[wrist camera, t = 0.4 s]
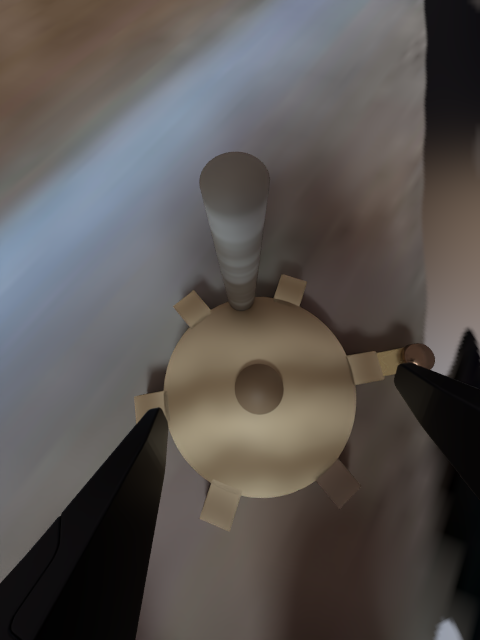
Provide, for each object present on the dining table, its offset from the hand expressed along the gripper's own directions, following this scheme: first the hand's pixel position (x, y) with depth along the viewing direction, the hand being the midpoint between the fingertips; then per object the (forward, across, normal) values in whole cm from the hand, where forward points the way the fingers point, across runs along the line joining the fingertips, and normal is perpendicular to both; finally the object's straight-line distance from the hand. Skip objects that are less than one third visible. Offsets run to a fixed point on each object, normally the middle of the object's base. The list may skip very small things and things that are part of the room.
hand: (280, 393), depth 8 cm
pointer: (+10, -12, +9) cm, 18 cm away
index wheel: (+9, 0, +9) cm, 13 cm away
